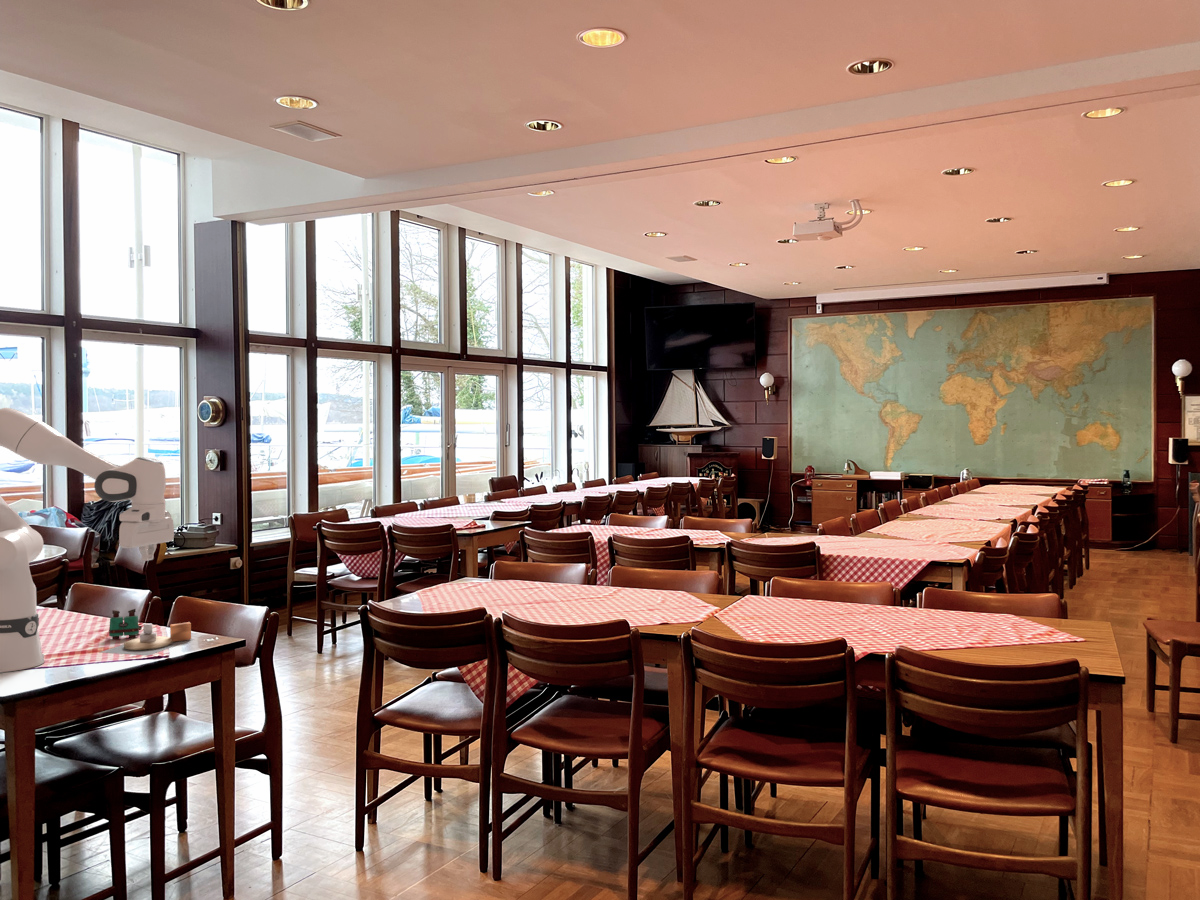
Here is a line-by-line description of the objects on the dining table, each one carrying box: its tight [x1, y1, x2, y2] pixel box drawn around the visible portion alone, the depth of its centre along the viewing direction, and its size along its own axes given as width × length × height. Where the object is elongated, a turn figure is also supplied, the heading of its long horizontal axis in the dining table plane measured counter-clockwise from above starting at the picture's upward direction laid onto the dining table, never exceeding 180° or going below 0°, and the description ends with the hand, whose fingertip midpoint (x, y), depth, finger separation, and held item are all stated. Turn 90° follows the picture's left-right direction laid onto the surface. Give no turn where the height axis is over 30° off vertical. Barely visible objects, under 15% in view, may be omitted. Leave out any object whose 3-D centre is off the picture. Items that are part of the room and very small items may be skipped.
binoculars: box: [108, 608, 142, 641], centre depth 282 cm, size 9×11×10 cm
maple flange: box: [123, 621, 192, 650], centre depth 272 cm, size 18×13×5 cm
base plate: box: [99, 623, 195, 656], centre depth 270 cm, size 17×20×8 cm
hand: (147, 560), depth 260 cm, fingers closed
